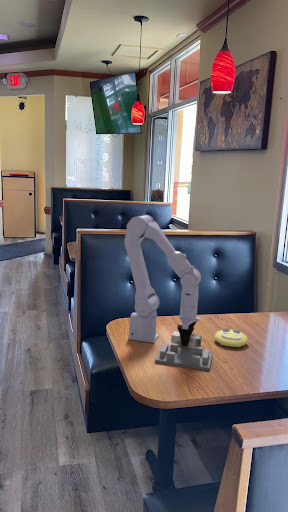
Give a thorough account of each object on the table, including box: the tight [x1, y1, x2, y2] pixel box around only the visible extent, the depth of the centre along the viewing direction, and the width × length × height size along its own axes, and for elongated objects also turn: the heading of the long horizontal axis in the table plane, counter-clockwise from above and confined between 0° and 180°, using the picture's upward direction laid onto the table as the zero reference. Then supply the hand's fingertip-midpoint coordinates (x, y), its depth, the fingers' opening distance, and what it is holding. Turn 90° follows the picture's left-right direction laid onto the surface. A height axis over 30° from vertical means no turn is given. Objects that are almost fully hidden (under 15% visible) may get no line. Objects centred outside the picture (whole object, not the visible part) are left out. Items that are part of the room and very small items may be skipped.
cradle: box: [154, 342, 213, 372], centre depth 136 cm, size 17×12×3 cm
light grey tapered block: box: [170, 330, 202, 350], centre depth 147 cm, size 10×4×4 cm, turn 76°
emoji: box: [213, 328, 249, 348], centre depth 152 cm, size 4×12×12 cm
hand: (186, 342), depth 147 cm, fingers open, 7 cm apart
